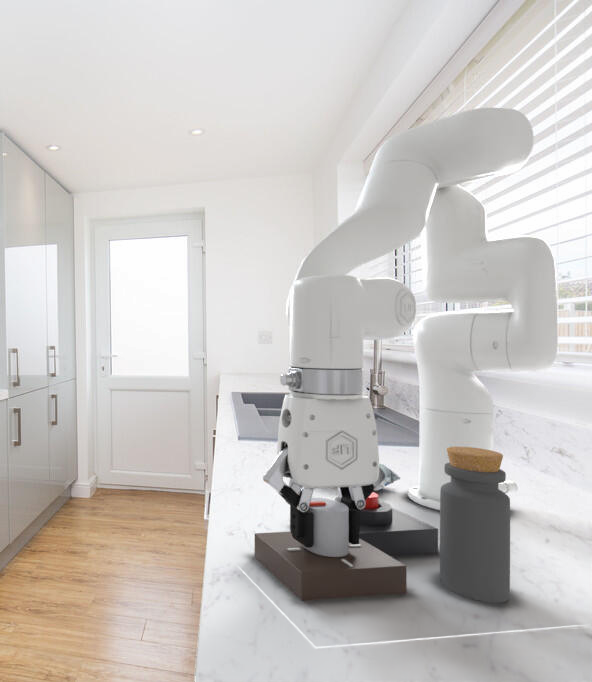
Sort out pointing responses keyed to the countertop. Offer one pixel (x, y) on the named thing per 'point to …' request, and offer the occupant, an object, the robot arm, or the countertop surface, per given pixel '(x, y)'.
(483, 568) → the bottle
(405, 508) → the countertop surface
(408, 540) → the push button base
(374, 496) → the power button
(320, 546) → the dial
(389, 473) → the packaged food
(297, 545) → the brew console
